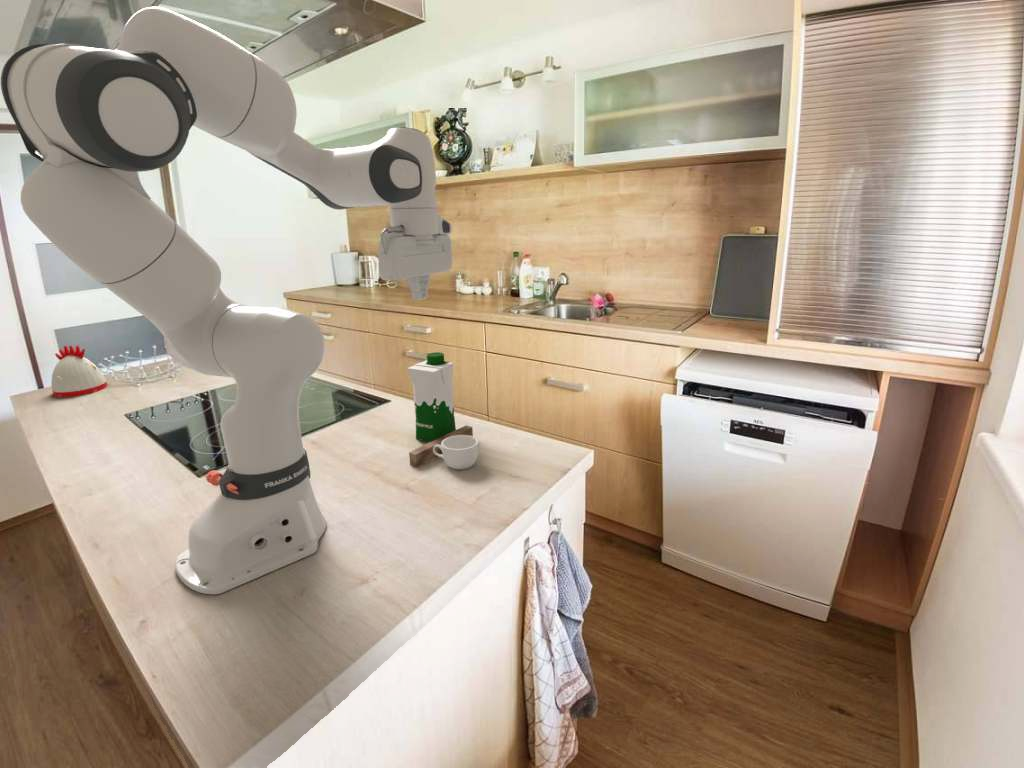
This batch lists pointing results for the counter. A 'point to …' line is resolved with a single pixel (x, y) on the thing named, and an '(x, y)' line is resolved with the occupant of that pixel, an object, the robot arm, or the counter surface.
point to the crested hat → (75, 374)
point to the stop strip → (426, 451)
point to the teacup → (459, 451)
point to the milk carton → (433, 397)
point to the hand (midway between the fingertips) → (420, 299)
